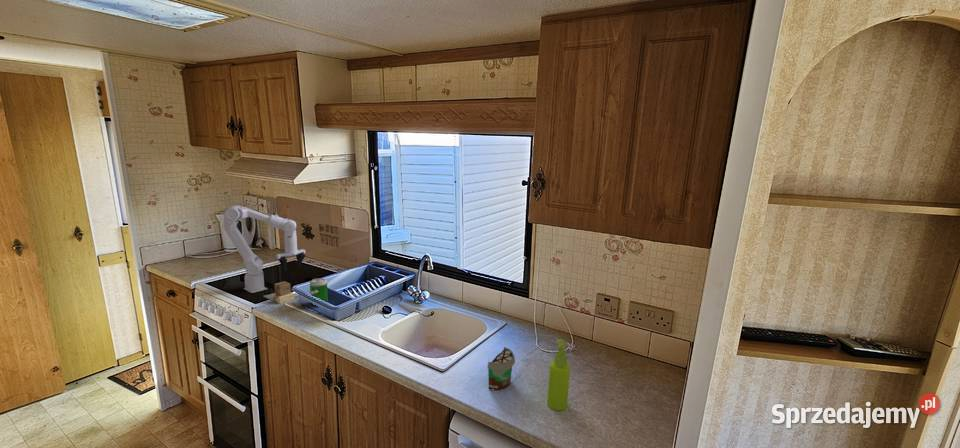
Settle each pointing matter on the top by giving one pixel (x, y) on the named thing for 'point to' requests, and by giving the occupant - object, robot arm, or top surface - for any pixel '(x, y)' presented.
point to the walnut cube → (282, 288)
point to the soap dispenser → (559, 379)
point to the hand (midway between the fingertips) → (292, 269)
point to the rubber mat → (275, 301)
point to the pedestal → (283, 298)
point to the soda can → (319, 288)
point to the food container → (501, 370)
